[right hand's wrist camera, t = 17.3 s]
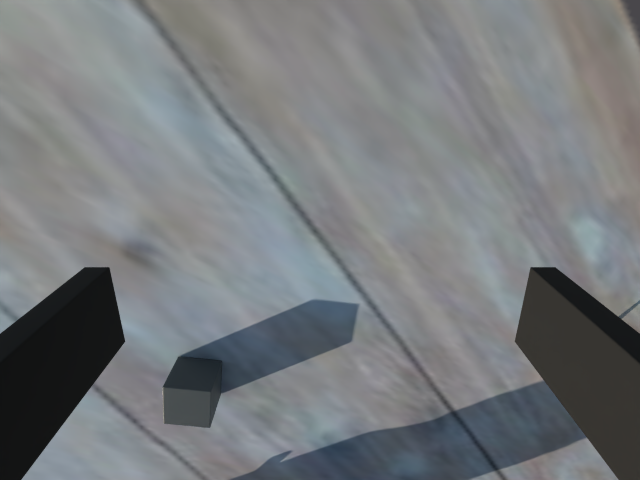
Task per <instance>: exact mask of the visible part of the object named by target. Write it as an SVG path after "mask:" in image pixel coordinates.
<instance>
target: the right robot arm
mask: <svg viewBox="0 0 640 480" xmlns="http://www.w3.org/2000/svg"><path fill="white" fill-rule="evenodd" d="M124 342H125V339H124V334H123V329H122V325H121V320H120V315H119V311H118V306H117V301H116V296H115V292H114V287H113V282H112V278H111V273H110V268H109V267H85V268H83V269H82V270H81V271H80V272H78V273H77V274H76V275H74V276H73V277H72V278H71V279H69V280H68V281H67V282H66V283H64V284H63V285H62V286H60V287H59V288H58V289H57V290H55V291H54V292H53V293H52V294H50V295H49V296H48V297H46V298H45V299H44V300H43V301H41V302H40V303H39V304H38V305H36V306H35V307H34V308H32V309H31V310H30V311H29V312H27V313H26V314H25V315H24V316H22V317H21V318H20V319H18V320H17V321H16V322H15V323H13V324H12V325H11V326H10V327H8V328H7V329H6V330H4V331H3V332H2V333H1V334H0V480H21V479H22V478H23V477H24V475H25V474H26V473H27V471H28V470H29V469H30V467H31V466H32V465H33V463H34V462H35V461H36V459H37V458H38V457H39V455H40V454H41V453H42V451H43V450H44V449H45V447H46V446H47V445H48V443H49V442H50V441H51V439H52V438H53V437H54V435H55V434H56V433H57V431H58V430H59V429H60V427H61V426H62V425H63V423H64V422H65V421H66V419H67V418H68V417H69V415H70V414H71V413H72V411H73V410H74V409H75V407H76V406H77V405H78V404H79V402H80V401H81V400H82V398H83V397H84V396H85V394H86V393H87V392H88V390H89V389H90V388H91V386H92V385H93V384H94V382H95V381H96V380H97V378H98V377H99V376H100V374H101V373H102V372H103V370H104V369H105V368H106V366H107V365H108V364H109V362H110V361H111V360H112V358H113V357H114V356H115V354H116V353H117V352H118V350H119V349H120V348H121V346H122V345H123V344H124ZM515 342H516V344H517V345H518V346H519V348H520V349H521V350H522V352H523V353H524V354H525V356H526V357H527V358H528V360H529V361H530V362H531V364H532V365H533V366H534V368H535V369H536V370H537V372H538V373H539V374H540V376H541V377H542V378H543V380H544V381H545V382H546V384H547V385H548V386H549V388H550V389H551V390H552V392H553V393H554V394H555V396H556V397H557V398H558V400H559V401H560V402H561V404H562V405H563V406H564V407H565V409H566V410H567V411H568V413H569V414H570V415H571V417H572V418H573V419H574V421H575V422H576V423H577V425H578V426H579V427H580V429H581V430H582V431H583V433H584V434H585V435H586V437H587V438H588V439H589V441H590V442H591V443H592V445H593V446H594V447H595V449H596V450H597V451H598V453H599V454H600V455H601V457H602V458H603V459H604V461H605V462H606V463H607V465H608V466H609V467H610V469H611V470H612V471H613V473H614V474H615V475H616V477H617V478H618V479H619V480H640V334H639V333H638V332H637V331H636V330H634V329H633V328H632V327H630V326H629V325H628V324H627V323H625V322H624V321H623V320H622V319H620V318H619V317H618V316H616V315H615V314H614V313H613V312H611V311H610V310H609V309H608V308H606V307H605V306H604V305H602V304H601V303H600V302H599V301H597V300H596V299H595V298H594V297H592V296H591V295H590V294H588V293H587V292H586V291H585V290H583V289H582V288H581V287H580V286H578V285H577V284H576V283H574V282H573V281H572V280H571V279H569V278H568V277H567V276H566V275H564V274H563V273H562V272H560V271H559V270H558V269H557V268H555V267H531V268H530V273H529V278H528V282H527V287H526V292H525V296H524V301H523V306H522V311H521V315H520V320H519V325H518V329H517V334H516V339H515Z"/></svg>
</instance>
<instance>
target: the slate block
mask: <svg viewBox="0 0 640 480" xmlns="http://www.w3.org/2000/svg"><path fill="white" fill-rule="evenodd" d="M221 373H222V361H218V360H208V359H198V358H188V357H178V359H177V360H176V362H175V364H174V366H173V368H172V370H171V372H170V374H169V376H168V378H167V380H166V382H165V384H164V386H163V418H164V424H174V425H185V426H196V427H207V428H210V426H211V423H212V420H213V417H214V414H215V411H216V407H217V404H218V401H219V398H220V395H221Z"/></svg>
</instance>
